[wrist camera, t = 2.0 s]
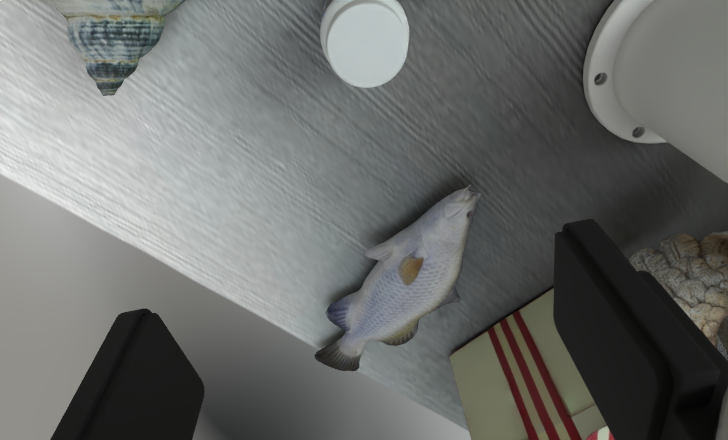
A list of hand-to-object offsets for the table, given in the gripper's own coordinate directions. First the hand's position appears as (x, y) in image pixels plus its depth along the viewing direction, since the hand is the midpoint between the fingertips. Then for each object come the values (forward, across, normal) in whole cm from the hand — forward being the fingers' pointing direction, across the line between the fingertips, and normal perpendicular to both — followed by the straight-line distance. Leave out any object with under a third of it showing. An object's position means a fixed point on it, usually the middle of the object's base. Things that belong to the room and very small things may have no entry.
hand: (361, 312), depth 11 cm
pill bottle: (+24, -2, -2) cm, 24 cm away
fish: (+22, +4, +16) cm, 28 cm away
